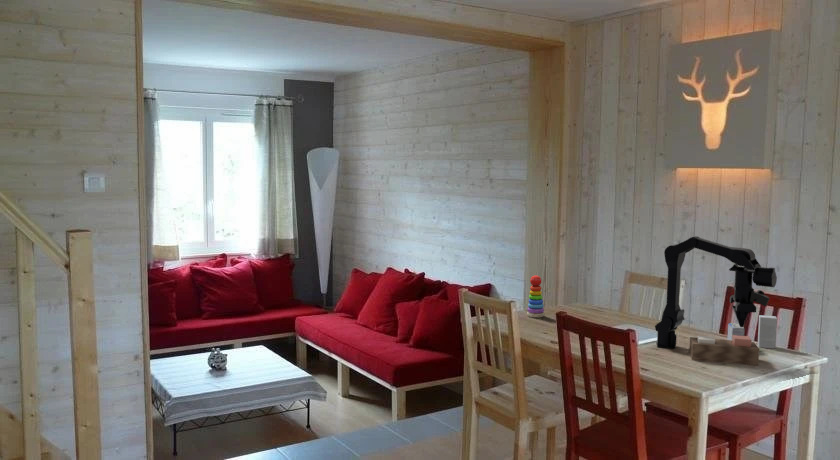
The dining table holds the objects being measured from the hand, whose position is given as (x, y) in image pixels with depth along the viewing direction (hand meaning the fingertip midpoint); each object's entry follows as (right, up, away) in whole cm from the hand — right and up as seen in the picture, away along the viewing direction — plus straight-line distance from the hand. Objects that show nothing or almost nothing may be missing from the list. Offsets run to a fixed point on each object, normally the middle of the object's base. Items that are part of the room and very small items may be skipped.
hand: (741, 326), depth 254 cm
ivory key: (-11, -9, +4) cm, 15 cm away
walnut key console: (-5, -12, +3) cm, 14 cm away
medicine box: (+6, -11, +19) cm, 23 cm away
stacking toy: (-63, -5, +68) cm, 93 cm away
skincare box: (+19, -11, +21) cm, 30 cm away
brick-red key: (0, -8, +1) cm, 8 cm away
